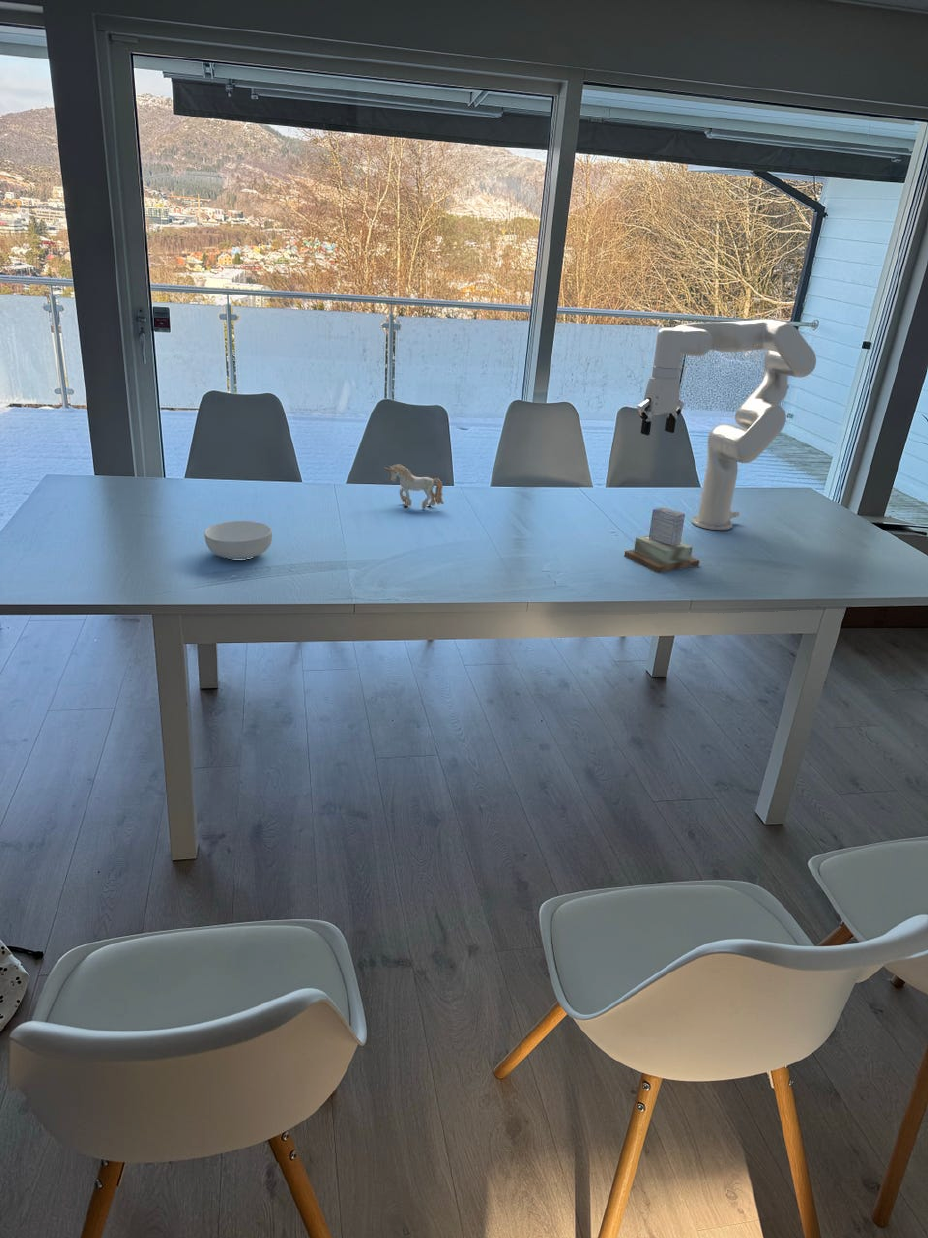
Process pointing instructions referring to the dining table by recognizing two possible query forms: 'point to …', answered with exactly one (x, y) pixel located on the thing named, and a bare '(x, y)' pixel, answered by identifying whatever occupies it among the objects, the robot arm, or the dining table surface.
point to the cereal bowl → (238, 539)
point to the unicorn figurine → (416, 485)
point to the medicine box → (666, 526)
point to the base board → (656, 565)
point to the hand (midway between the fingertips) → (657, 433)
